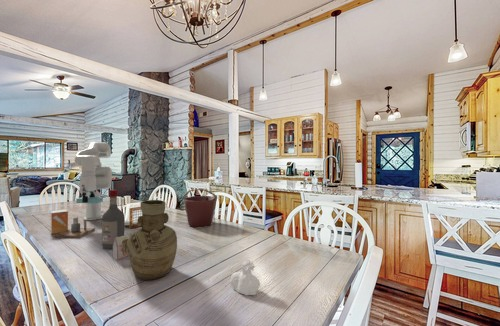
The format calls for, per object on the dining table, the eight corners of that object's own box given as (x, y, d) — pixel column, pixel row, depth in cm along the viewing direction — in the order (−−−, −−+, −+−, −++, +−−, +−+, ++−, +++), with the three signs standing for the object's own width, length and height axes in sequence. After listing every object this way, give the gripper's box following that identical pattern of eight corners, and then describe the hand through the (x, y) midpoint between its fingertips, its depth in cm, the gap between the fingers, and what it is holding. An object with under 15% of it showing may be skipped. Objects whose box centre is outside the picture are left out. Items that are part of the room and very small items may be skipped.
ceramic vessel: (133, 263, 106) (133, 197, 105) (180, 261, 108) (181, 196, 107) (112, 286, 87) (112, 206, 86) (171, 284, 89) (171, 205, 88)
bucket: (176, 226, 161) (176, 190, 160) (193, 218, 182) (193, 186, 181) (208, 230, 154) (208, 192, 153) (222, 221, 175) (222, 188, 174)
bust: (260, 301, 83) (269, 268, 88) (252, 296, 77) (262, 262, 83) (232, 291, 89) (241, 260, 94) (222, 286, 83) (233, 254, 89)
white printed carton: (112, 258, 110) (112, 237, 110) (127, 253, 116) (127, 233, 116) (117, 260, 108) (117, 239, 108) (131, 255, 114) (131, 235, 114)
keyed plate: (76, 203, 153) (76, 198, 152) (82, 201, 159) (82, 197, 158) (97, 203, 153) (97, 198, 152) (102, 201, 159) (102, 197, 158)
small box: (51, 234, 142) (51, 213, 142) (50, 231, 147) (50, 211, 146) (68, 231, 148) (68, 211, 147) (67, 229, 152) (66, 209, 152)
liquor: (114, 250, 120) (114, 191, 119) (99, 248, 122) (98, 191, 121) (127, 243, 129) (127, 189, 128) (112, 242, 131) (112, 188, 130)
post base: (73, 230, 151) (73, 214, 150) (94, 230, 150) (94, 214, 150) (54, 237, 137) (54, 220, 136) (78, 237, 136) (78, 220, 136)
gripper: (91, 173, 164) (91, 199, 164) (73, 175, 147) (73, 203, 147) (102, 173, 164) (102, 199, 164) (85, 175, 147) (85, 203, 147)
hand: (88, 201), depth 155 cm, fingers closed on keyed plate, 6 cm apart
